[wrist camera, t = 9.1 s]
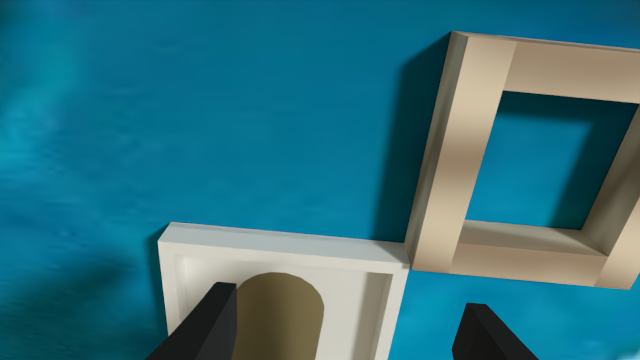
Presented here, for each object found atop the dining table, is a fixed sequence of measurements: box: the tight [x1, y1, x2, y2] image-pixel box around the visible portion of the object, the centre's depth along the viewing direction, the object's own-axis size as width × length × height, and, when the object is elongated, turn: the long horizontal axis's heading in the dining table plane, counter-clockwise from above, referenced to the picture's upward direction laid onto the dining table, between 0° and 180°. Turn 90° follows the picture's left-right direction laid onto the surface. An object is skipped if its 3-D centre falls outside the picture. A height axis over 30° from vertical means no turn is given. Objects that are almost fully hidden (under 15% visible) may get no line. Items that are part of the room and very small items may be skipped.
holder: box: [404, 31, 640, 290], centre depth 20 cm, size 12×12×2 cm
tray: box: [158, 222, 410, 360], centre depth 25 cm, size 14×14×2 cm
